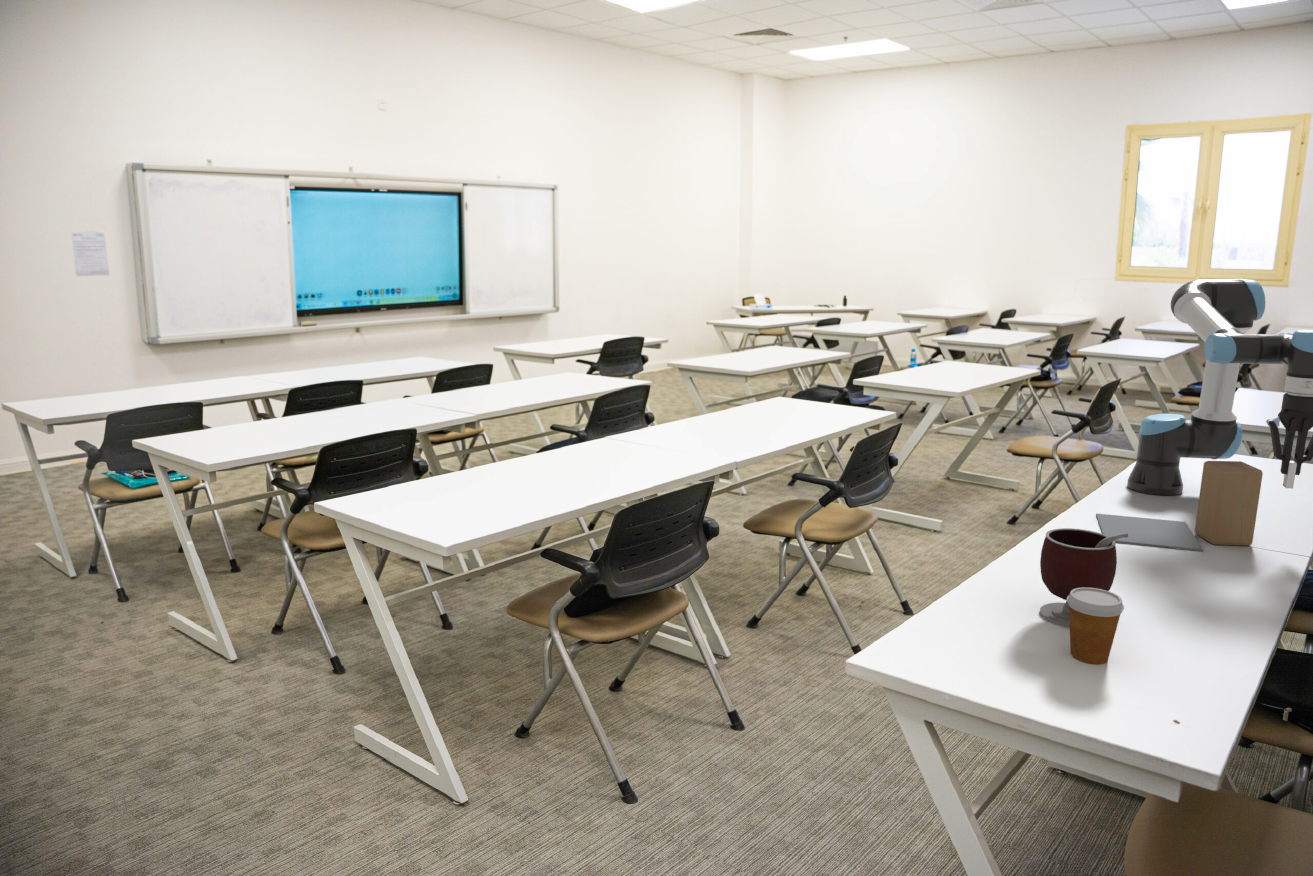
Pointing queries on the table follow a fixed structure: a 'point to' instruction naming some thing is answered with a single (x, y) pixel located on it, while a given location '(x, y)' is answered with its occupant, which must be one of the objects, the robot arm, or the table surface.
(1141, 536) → the mat
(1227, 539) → the wooden block
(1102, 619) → the disposable coffee cup
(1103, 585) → the mate gourd
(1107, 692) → the table surface
